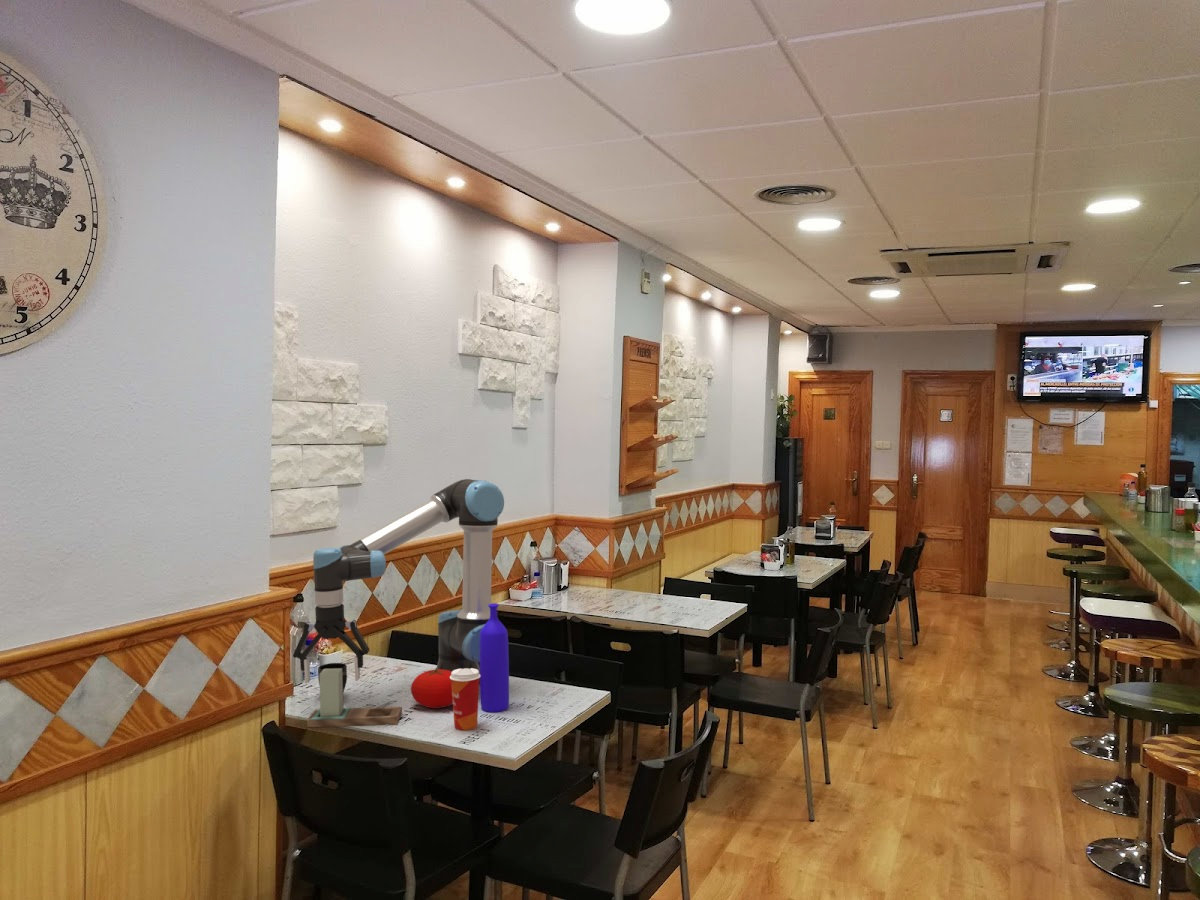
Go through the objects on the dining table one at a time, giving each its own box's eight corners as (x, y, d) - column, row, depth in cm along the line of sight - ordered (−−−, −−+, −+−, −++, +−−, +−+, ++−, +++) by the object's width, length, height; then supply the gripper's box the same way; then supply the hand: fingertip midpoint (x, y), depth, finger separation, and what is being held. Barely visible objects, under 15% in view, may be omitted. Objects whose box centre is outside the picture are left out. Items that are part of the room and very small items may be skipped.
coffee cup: (451, 722, 243) (450, 667, 243) (481, 720, 244) (481, 666, 244) (449, 732, 235) (448, 676, 234) (480, 731, 236) (479, 675, 235)
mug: (331, 706, 258) (330, 674, 257) (314, 697, 267) (313, 666, 266) (357, 700, 263) (357, 669, 263) (339, 692, 272) (339, 661, 272)
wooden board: (402, 713, 251) (401, 705, 251) (396, 724, 242) (396, 716, 242) (315, 716, 249) (315, 708, 249) (307, 727, 240) (307, 718, 240)
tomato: (467, 700, 263) (467, 665, 262) (451, 714, 250) (451, 677, 250) (422, 697, 265) (422, 663, 265) (404, 711, 253) (404, 675, 253)
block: (343, 717, 248) (342, 668, 247) (339, 723, 243) (338, 673, 242) (325, 718, 247) (324, 668, 247) (320, 724, 242) (319, 673, 242)
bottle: (486, 714, 249) (484, 608, 248) (476, 706, 257) (474, 603, 256) (513, 709, 253) (512, 605, 252) (503, 701, 260) (501, 600, 260)
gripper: (377, 599, 249) (380, 674, 249) (287, 603, 247) (290, 678, 248) (372, 605, 241) (375, 682, 242) (279, 609, 240) (282, 687, 240)
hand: (332, 680), depth 245 cm, fingers open, 13 cm apart
